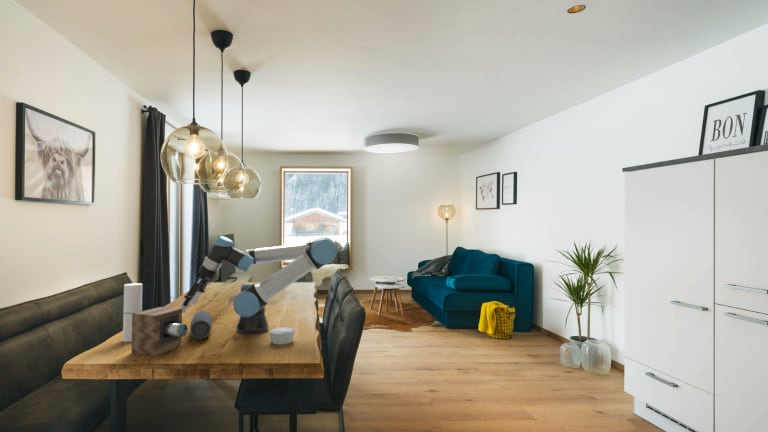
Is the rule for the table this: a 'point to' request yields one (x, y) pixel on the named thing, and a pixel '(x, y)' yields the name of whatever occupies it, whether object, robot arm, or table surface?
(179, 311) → the housing
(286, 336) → the ramekin
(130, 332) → the cylindrical container
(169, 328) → the peg
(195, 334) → the bluetooth speaker
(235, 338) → the table surface
